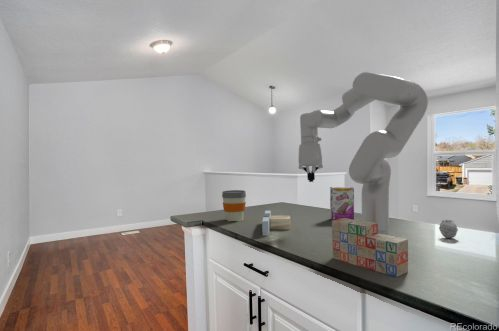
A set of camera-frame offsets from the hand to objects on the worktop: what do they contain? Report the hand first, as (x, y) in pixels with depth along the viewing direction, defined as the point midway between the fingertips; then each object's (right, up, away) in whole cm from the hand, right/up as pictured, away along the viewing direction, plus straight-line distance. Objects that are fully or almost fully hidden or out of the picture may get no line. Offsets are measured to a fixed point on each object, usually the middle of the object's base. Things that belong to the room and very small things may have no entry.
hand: (311, 181), depth 142 cm
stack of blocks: (+7, -23, -48) cm, 54 cm away
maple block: (-13, -22, +3) cm, 26 cm away
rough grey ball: (+48, -21, -22) cm, 57 cm away
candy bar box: (+19, -20, +18) cm, 33 cm away
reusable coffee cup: (-36, -22, +24) cm, 48 cm away
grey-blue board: (-20, -22, +2) cm, 29 cm away
